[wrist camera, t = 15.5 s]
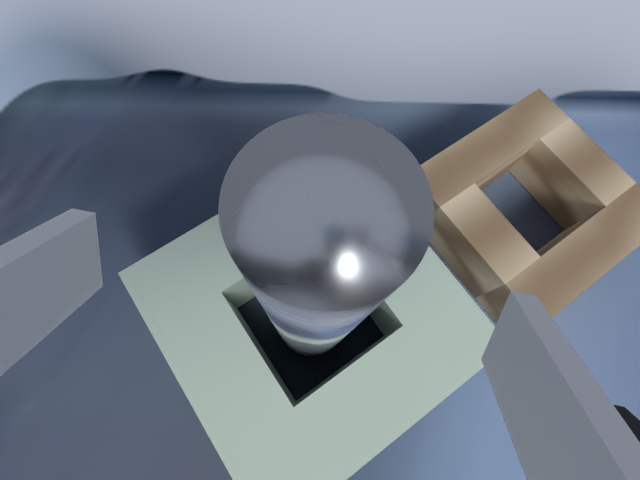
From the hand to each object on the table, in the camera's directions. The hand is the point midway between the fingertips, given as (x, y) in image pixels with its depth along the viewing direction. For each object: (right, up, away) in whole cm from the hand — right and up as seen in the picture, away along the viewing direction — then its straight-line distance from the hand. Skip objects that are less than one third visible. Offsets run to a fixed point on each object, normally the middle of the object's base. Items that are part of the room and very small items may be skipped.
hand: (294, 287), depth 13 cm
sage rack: (0, -3, +12) cm, 12 cm away
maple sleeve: (+14, +3, +14) cm, 20 cm away
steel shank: (0, -4, +12) cm, 12 cm away
